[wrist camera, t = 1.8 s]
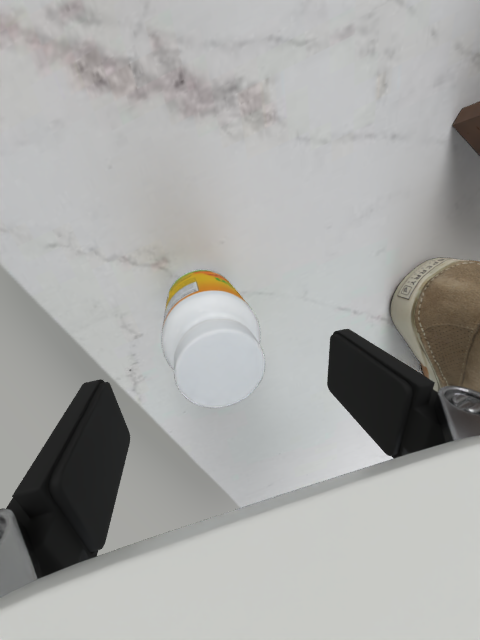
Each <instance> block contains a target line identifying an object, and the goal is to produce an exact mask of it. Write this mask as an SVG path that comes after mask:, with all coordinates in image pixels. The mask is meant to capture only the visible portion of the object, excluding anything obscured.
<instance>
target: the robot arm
mask: <svg viewBox="0 0 480 640" xmlns="http://www.w3.org/2000/svg"><path fill="white" fill-rule="evenodd" d="M434 384H435V382H433V381H432V380H430V379H429V378H427V377H425V376H424V375H422V374H420V373H419V372H417V371H416V370H414V369H412V368H411V367H409V366H408V365H406V364H404V363H403V362H401V361H400V360H398V359H396V358H395V357H393V356H391V355H390V354H388V353H387V352H385V351H383V350H382V349H380V348H379V347H377V346H375V345H374V344H372V343H370V342H369V341H367V340H366V339H364V338H362V337H361V336H359V335H358V334H356V333H354V332H353V331H351V330H349V329H344V330H339V331H335V332H334V333H333V335H332V336H331V338H330V351H329V366H328V382H327V385H328V388H329V390H330V392H331V393H332V394H333V395H334V396H335V397H336V399H337V400H338V401H339V402H340V403H341V404H342V405H343V406H344V407H345V409H346V410H347V411H348V412H349V413H350V414H351V415H352V416H353V418H354V419H355V420H356V421H357V422H358V423H359V424H360V425H361V427H362V428H363V429H364V430H365V431H366V432H367V433H368V434H369V436H370V437H371V438H372V439H373V440H374V441H375V442H376V443H377V444H378V446H379V447H380V448H381V449H382V450H383V451H384V452H385V453H386V454H387V455H389V456H392V457H393V458H394V459H391V460H388V461H385V462H382V463H379V464H375V465H372V466H369V467H366V468H363V469H360V470H357V471H353V472H350V473H347V474H344V475H341V476H338V477H335V478H331V479H328V480H325V481H322V482H319V483H316V484H313V485H310V486H307V487H304V488H300V489H297V490H294V491H291V492H288V493H285V494H282V495H279V496H276V497H273V498H270V499H267V500H264V501H260V502H257V503H254V504H251V505H248V506H245V507H242V508H239V509H236V510H233V511H230V512H227V513H224V514H221V515H218V516H215V517H212V518H209V519H206V520H203V521H200V522H197V523H194V524H191V525H188V526H185V527H182V528H179V529H175V530H172V531H169V532H166V533H163V534H161V535H158V536H154V537H151V538H148V539H145V540H143V541H140V542H137V543H134V544H131V545H128V546H125V547H122V548H119V549H117V550H114V551H111V552H108V553H105V554H102V555H100V556H97V553H98V550H100V549H102V548H103V546H104V544H105V541H106V537H107V533H108V529H109V525H110V521H111V517H112V513H113V509H114V505H115V500H116V496H117V492H118V488H119V484H120V480H121V476H122V472H123V468H124V464H125V460H126V455H127V452H128V447H129V443H130V434H129V431H128V428H127V425H126V423H125V420H124V418H123V416H122V413H121V411H120V408H119V406H118V403H117V401H116V398H115V396H114V393H113V391H112V388H111V386H110V384H109V383H108V382H104V381H103V380H96V381H92V382H86V383H84V384H83V385H82V386H81V388H80V390H79V391H78V393H77V394H76V396H75V398H74V399H73V401H72V402H71V404H70V405H69V407H68V409H67V410H66V412H65V413H64V415H63V417H62V418H61V420H60V421H59V423H58V425H57V426H56V428H55V429H54V431H53V432H52V434H51V436H50V437H49V439H48V440H47V442H46V444H45V445H44V447H43V448H42V450H41V452H40V453H39V455H38V456H37V458H36V460H35V461H34V462H33V464H32V466H31V468H30V469H29V470H28V472H27V474H26V475H25V477H24V478H23V480H22V482H21V483H20V485H19V486H18V488H17V489H16V491H15V493H14V495H13V496H12V497H13V499H12V500H11V502H10V503H9V505H8V506H7V508H6V509H0V640H480V392H478V391H475V390H472V389H469V388H465V387H461V386H445V387H442V388H440V390H439V391H438V392H437V391H435V390H434V389H433V387H434Z"/></svg>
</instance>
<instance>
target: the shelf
mask: <svg viewBox="0 0 480 640" xmlns="http://www.w3.org/2000/svg"><path fill="white" fill-rule="evenodd" d="M452 126H453V127H454V128H455V129H456V130H457V131H458V132H459V133H460V134H461V135H462V137H463V138H464V139H465V140H466V141H467V142H468V143H469V144H470V145H471V146H472V147H473V149H474V150H475V151H476V152H477V153H478V154H479V155H480V102H477V103H475V104H472V105H470V106H467V107H465V108H463V109H462V110H461V111H460V113H459V115H458V116H457V118H456V120H455V122H454V123H453V125H452Z"/></svg>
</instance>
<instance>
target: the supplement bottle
mask: <svg viewBox="0 0 480 640" xmlns="http://www.w3.org/2000/svg"><path fill="white" fill-rule="evenodd" d="M260 338H261V334H260V326H259V322H258V320H257V318H256V316H255V314H254V312H253V311H252V309H251V308H250V306H249V305H248V304H247V303H246V302H245V300H244V299H243V298H242V297H241V296H240V294H239V293H238V292H237V291H236V290H235V288H234V287H233V286H232V285H231V284H230V283H229V281H228V280H227V279H226V278H224V277H223V276H222V275H220V274H218V273H216V272H214V271H210V270H203V269H201V270H194V271H190V272H188V273H186V274H184V275H182V276H181V277H179V278H178V279H177V280H176V281H175V282H174V284H173V285H172V287H171V289H170V291H169V294H168V297H167V302H166V309H165V316H164V322H163V328H162V339H161V341H162V350H163V353H164V356H165V358H166V360H167V362H168V364H169V365H170V366H171V368H172V369H173V370H174V376H175V381H176V384H177V387H178V389H179V390H180V392H181V393H182V394H183V396H184V397H185V398H186V399H188V400H189V401H191V402H192V403H194V404H197V405H199V406H203V407H209V408H219V407H226V406H229V405H232V404H235V403H237V402H239V401H241V400H243V399H244V398H246V397H247V396H249V395H250V394H251V393H252V392H253V391H254V390H255V389H256V388H257V386H258V385H259V383H260V381H261V379H262V377H263V374H264V370H265V357H264V353H263V350H262V348H261V346H260Z"/></svg>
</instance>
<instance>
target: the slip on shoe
mask: <svg viewBox="0 0 480 640" xmlns="http://www.w3.org/2000/svg"><path fill="white" fill-rule="evenodd" d="M391 318H392V320H393V323H394V324H395V326H396V328H397V330H398V331H399V333H400V334H401V335H402V337H403V338H404V340H405V341H406V343H407V344H408V345H409V347H410V348H411V350H412V352H413V353H414V355H415V356H416V357H417V359H418V360H419V361H420V363H421V366H422V370H423V374H424V376H425V377H427V378H429V379H430V380H432V381H433V382H435V384H434V387H433V389H434V390H435V391H437V392H438V391H439V390H440V388H442V387H445V386H461V387H465V388H469V389H472V390H475V391H478V392H480V262H479V261H471V260H469V261H467V260H458V259H452V258H434V259H431V260H428V261H426V262H424V263H422V264H420V265H419V266H417V267H416V268H415V269H414V270H412V271H411V272H410V273H409V274H408V275H407V276H406V277H405V278H404V279H403V281H402V282H401V283H400V284H399V286H398V288H397V290H396V291H395V293H394V296H393V299H392V302H391Z"/></svg>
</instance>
